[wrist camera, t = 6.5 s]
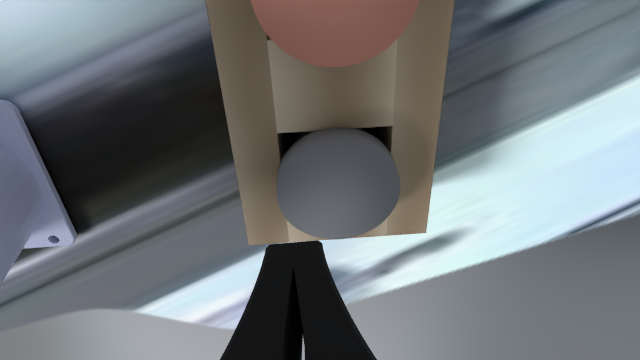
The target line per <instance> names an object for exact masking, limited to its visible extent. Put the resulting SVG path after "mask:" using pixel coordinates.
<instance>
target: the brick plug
mask: <svg viewBox="0 0 640 360" xmlns="http://www.w3.org/2000/svg"><path fill="white" fill-rule="evenodd" d="M419 1H420V0H251V4H252V7H253V10H254V13H255V15H256V17H257V19H258V21H259V23H260V25H261V27H262V28H263V30H264V31H265V33H266V34H267V35H268V36H269V38H270V39H271V40H272V41H273V42H274V43H275V44H276V45H277V46H278V47H279V48H280V49H282V50H283V51H284V52H286V53H287V54H289V55H290V56H292V57H294V58H296V59H298V60H300V61H303V62H305V63H308V64H312V65H316V66H322V67H344V66H350V65H354V64H358V63H361V62H364V61H366V60H369V59H371V58H372V57H374V56H376V55H378V54H380V53H381V52H382V51H384V50H385V49H387V48H388V47H389V46H390V45H391V44H392V43H394V42H395V41H396V40H397V38H398V37H399V36H400V35H401V34H402V33H403V31H404V30H405V29H406V27H407V26H408V24H409V23H410V21H411V19H412V17H413V15H414V14H415V11H416V9H417V6H418V4H419Z"/></svg>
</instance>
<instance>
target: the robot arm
mask: <svg viewBox="0 0 640 360" xmlns="http://www.w3.org/2000/svg"><path fill="white" fill-rule="evenodd" d="M54 236H56V237H58V238H56V237H54ZM76 238H77V233H76V231H75V229H74V227H73V225H72V223H71V220H70V218H69V216H68V214H67V212H66V210H65V208H64V206H63V203H62V201H61V199H60V197H59V195H58V193H57V191H56V188H55V186H54V184H53V182H52V180H51V178H50V176H49V173H48V171H47V169H46V167H45V165H44V163H43V161H42V158H41V156H40V154H39V152H38V150H37V148H36V146H35V144H34V141H33V139H32V137H31V135H30V133H29V131H28V129H27V126H26V124H25V122H24V120H23V118H22V116H21V114H20V111H19V109H18V108H17V107H16V105H14V104H13V103H12V102H9V101H7V100H0V284H1V283H2V281H3V280H4V278H5V276H6V275H7V273H8V272H9V270H10V268H11V267H12V265H13V264H14V262H15V260H16V259H17V257H18V256H19V254H20V252H21V251H22V249H23V248H37V247H52V246H66V245H72V244H73V243H74V242H75V240H76ZM302 338H304V345H305V360H377V359H376V358H375V356H374V355H373V353H372V351H371V350H370V348H369V347H368V345H367V344H366V342H365V340H364V339H363V337H362V335H361V334H360V332H359V330H358V328H357V327H356V325H355V323H354V321H353V319H352V318H351V316H350V314H349V312H348V310H347V308H346V306H345V304H344V302H343V300H342V298H341V296H340V294H339V292H338V290H337V287H336V285H335V283H334V281H333V278H332V275H331V273H330V270H329V268H328V265H327V262H326V259H325V255H324V251H323V246H322V243H321V242H319V241H318V240H317V241H306V242H294V243H283V244H272V245H269V246H268V247H267V248H266V251H265V256H264V259H263V263H262V266H261V269H260V272H259V275H258V278H257V281H256V284H255V286H254V289H253V291H252V294H251V296H250V299H249V301H248V303H247V306H246V308H245V311H244V313H243V315H242V317H241V319H240V321H239V323H238V326H237V328H236V330H235V332H234V334H233V336H232V338H231V340H230V342H229V344H228V346H227V348H226V349H225V352H224V353H223V355H222V357H221V359H220V360H302Z"/></svg>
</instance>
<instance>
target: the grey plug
mask: <svg viewBox="0 0 640 360" xmlns="http://www.w3.org/2000/svg"><path fill="white" fill-rule="evenodd" d="M399 195H400V179H399V175H398V172H397V169H396V166H395V163H394V160H393V157H392V155H391V153H390V151H389V150H388V149H387V147H386V146H385V145H384V144H383V143H382V142H381V141H380V140H379V139H377V138H376V137H374V136H373V135H371V134H369V133H368V131H367V128H346V127H334V128H326V129H322V130H318V131H305V132H296V134H295V137H294V144H293V145H292V146H291V147H290V148H289V149H288V151H287V152H286V153H285V155H284V156H283V158H282V160H281V162H280V165H279V168H278V173H277V201H278V205H279V208H280V210H281V212H282V214H283V215H284V217H285V218H286V219H287V221H288V222H289V223H290V224H292V225H293V226H294V227H295V228H297V229H298V230H300V231H302V232H304V233H306V234H308V235H311V236H314V237H318V238H324V239H345V238H351V237H355V236H358V235H361V234H364V233H366V232H369V231H370V230H372V229H374V228H376V227H377V226H378V225H380V224H381V223H382V222H383V221H385V220H386V219H387V218H388V216H389V215H390V214H391V213H392V211H393V210H394V208H395V206H396V204H397V202H398V199H399Z"/></svg>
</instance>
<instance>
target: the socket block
mask: <svg viewBox="0 0 640 360" xmlns="http://www.w3.org/2000/svg"><path fill="white" fill-rule="evenodd" d="M454 1H455V0H420V1H419V4H418V6H417V9H416V11H415V14H414V15H413V17H412V19H411V21H410V23H409V24H408V26H407V27H406V29H405V30H404V31H403V33H402V34H401V35H400V36H399V37H398V38H397V40H396V41H395V42H394V43H392V44H391V45H390V46H389V47H388V48H387V49H385V50H384V51H382V52H381V53H380V54H378V55H376V56H374V57H372V58H371V59H369V60H366V61H364V62H361V63H358V64H354V65H350V66H344V67H322V66H316V65H312V64H308V63H305V62H303V61H300V60H298V59H296V58H294V57H292V56H290V55H289V54H287V53H286V52H284V51H283V50H282V49H280V48H279V47H278V46H277V45H276V44H275V43H274V42H273V41H272V40H271V39H270V38H269V36H268V35H267V34H266V33H265V31H264V30H263V28H262V27H261V25H260V23H259V21H258V19H257V17H256V15H255V13H254V10H253V7H252V4H251V0H205V2H206V7H207V13H208V18H209V24H210V29H211V35H212V41H213V46H214V52H215V57H216V63H217V68H218V74H219V80H220V85H221V91H222V96H223V102H224V108H225V113H226V119H227V124H228V130H229V135H230V141H231V147H232V152H233V158H234V163H235V169H236V174H237V180H238V186H239V191H240V197H241V202H242V208H243V213H244V219H245V225H246V230H247V236H248V241H249V245H257V244H271V243H286V242H300V241H315V240H329V239H324V238H318V237H314V236H311V235H308V234H306V233H304V232H302V231H300V230H298V229H297V228H295V227H294V226H293V225H292V224H290V223H289V222H288V221H287V219H286V218H285V217H284V215H283V214H282V212H281V210H280V208H279V205H278V201H277V173H278V168H279V165H280V162H281V160H282V158H283V156H284V148H283V138H282V133H289V132H305V131H318V130H322V129H326V128H334V127H346V128H367V127H379V140H380V141H381V142H382V143H383V144H384V145H385V146H386V147H387V149H388V150H389V151H390V153H391V155H392V157H393V160H394V163H395V166H396V169H397V172H398V175H399V179H400V195H399V199H398V202H397V204H396V206H395V208H394V210H393V211H392V213H391V214H390V215H389V216H388V218H387V219H386V220H385V221H383V222H382V223H381V224H380V225H378V226H377V227H376V228H374V229H372V230H370V231H369V232H366V233H364V234H361V235H358V236H355V237H351V238H358V237H373V236H387V235H401V234H416V233H426V229H427V221H428V212H429V204H430V196H431V188H432V180H433V172H434V164H435V156H436V147H437V139H438V131H439V123H440V115H441V107H442V99H443V91H444V82H445V74H446V66H447V58H448V50H449V42H450V34H451V26H452V17H453V9H454Z"/></svg>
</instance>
